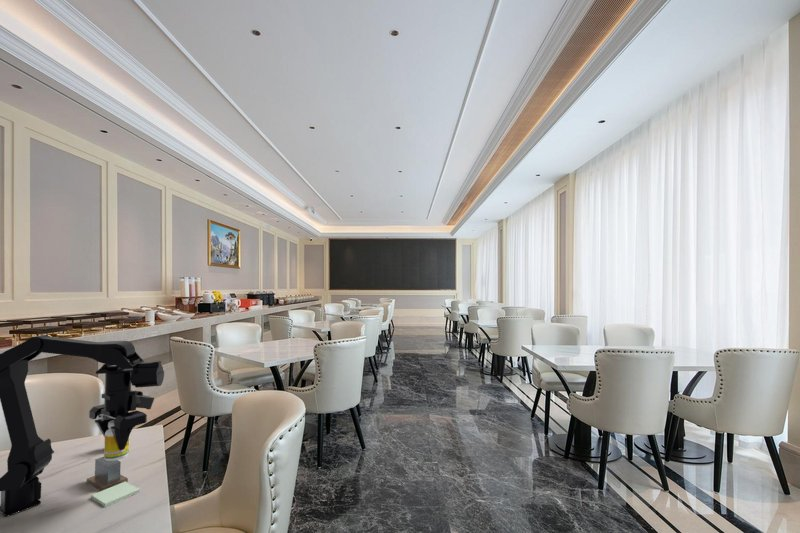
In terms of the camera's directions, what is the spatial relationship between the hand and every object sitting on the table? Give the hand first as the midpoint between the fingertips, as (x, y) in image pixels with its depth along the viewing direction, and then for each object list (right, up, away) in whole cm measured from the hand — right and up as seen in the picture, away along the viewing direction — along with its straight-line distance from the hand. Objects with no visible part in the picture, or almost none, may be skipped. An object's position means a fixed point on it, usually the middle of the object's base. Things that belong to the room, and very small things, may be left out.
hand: (116, 447), depth 102 cm
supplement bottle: (0, -3, 0) cm, 3 cm away
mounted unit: (-7, -13, +6) cm, 16 cm away
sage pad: (0, -12, -1) cm, 13 cm away
